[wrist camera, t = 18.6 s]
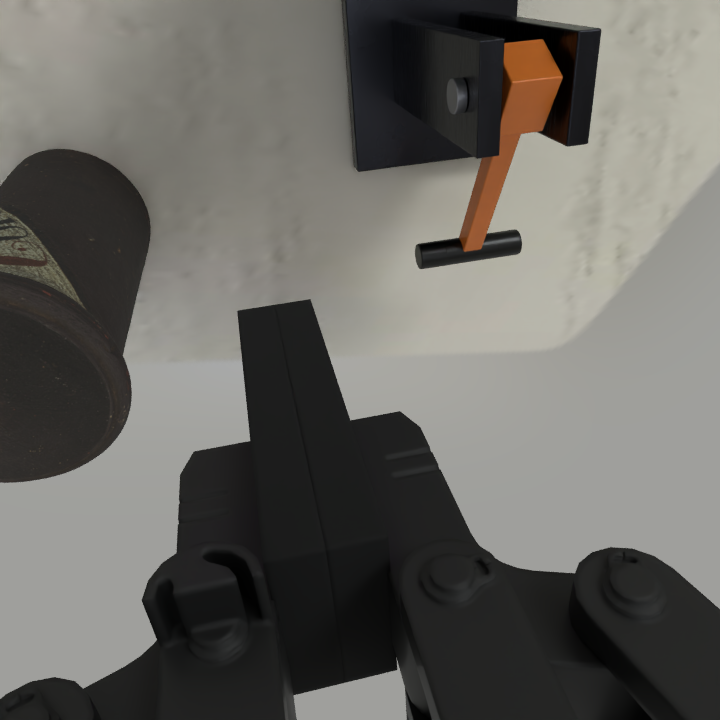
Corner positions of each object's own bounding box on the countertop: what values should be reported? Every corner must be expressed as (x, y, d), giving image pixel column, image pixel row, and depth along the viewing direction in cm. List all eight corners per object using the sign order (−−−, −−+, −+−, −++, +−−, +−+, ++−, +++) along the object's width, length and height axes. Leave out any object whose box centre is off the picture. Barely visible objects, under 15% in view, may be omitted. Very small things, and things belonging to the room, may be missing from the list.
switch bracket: (502, 148, 42) (628, 222, 29) (353, 167, 40) (420, 253, 28) (513, -73, 35) (680, -97, 23) (336, -59, 34) (413, -76, 22)
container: (71, 110, 35) (-46, 234, 19) (187, 228, 40) (177, 411, 23) (-35, 209, 37) (-231, 405, 20) (89, 311, 42) (14, 539, 25)
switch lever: (507, 233, 38) (520, 265, 37) (411, 247, 37) (421, 281, 36) (585, 33, 27) (607, 71, 26) (449, 47, 26) (465, 88, 25)
